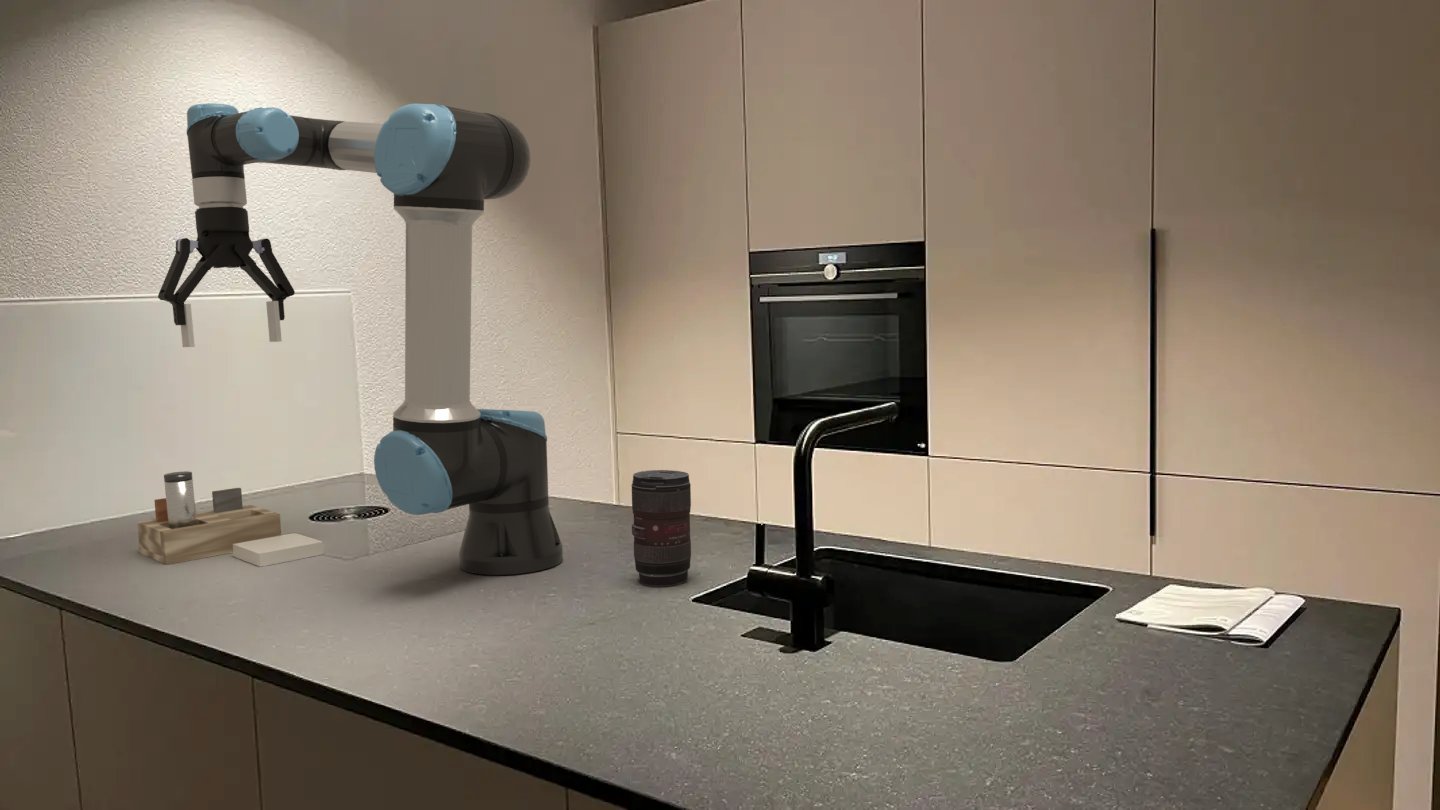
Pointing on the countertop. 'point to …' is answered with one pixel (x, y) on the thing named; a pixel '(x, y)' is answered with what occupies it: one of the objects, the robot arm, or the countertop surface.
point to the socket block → (206, 529)
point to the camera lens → (661, 526)
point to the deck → (277, 549)
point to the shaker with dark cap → (180, 499)
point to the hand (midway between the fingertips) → (233, 344)
